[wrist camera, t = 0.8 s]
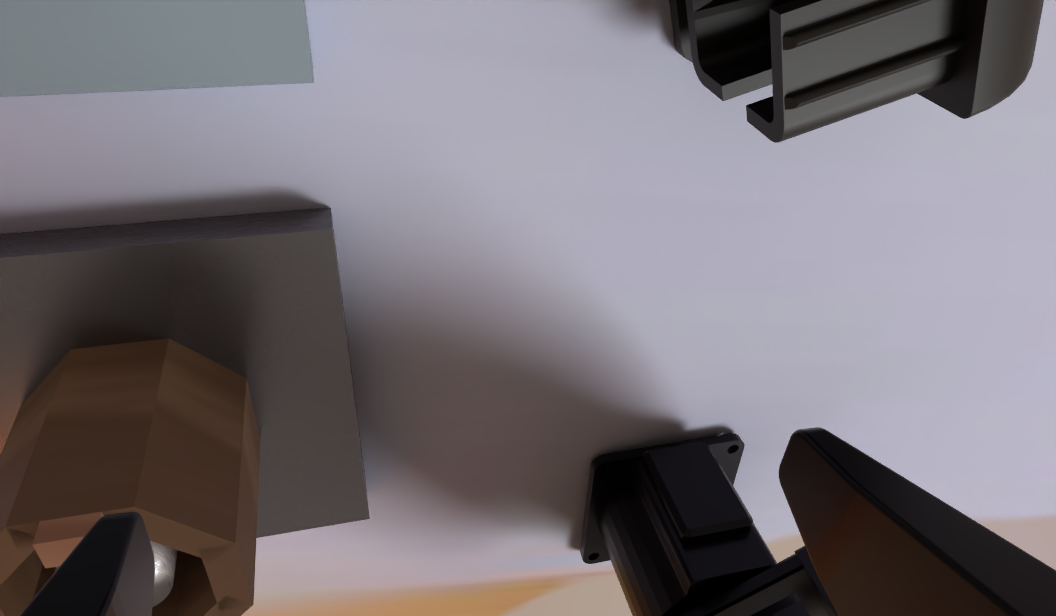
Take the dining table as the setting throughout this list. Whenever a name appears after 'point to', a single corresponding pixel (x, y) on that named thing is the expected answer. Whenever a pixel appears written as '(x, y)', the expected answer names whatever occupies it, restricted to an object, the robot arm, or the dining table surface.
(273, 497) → the stand
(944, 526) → the robot arm
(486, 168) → the dining table surface
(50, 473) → the sleeve
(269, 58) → the grey peg base
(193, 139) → the dining table surface
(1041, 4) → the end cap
